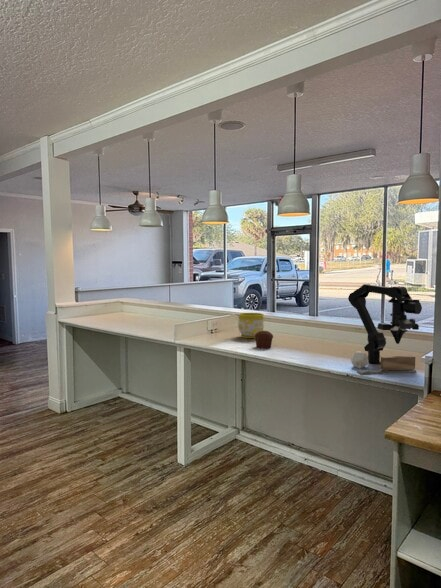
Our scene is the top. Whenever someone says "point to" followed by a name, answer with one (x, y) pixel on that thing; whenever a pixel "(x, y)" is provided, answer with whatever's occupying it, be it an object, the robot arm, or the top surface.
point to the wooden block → (397, 362)
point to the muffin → (263, 339)
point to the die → (359, 359)
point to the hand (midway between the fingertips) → (397, 343)
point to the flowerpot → (250, 324)
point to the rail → (380, 371)
